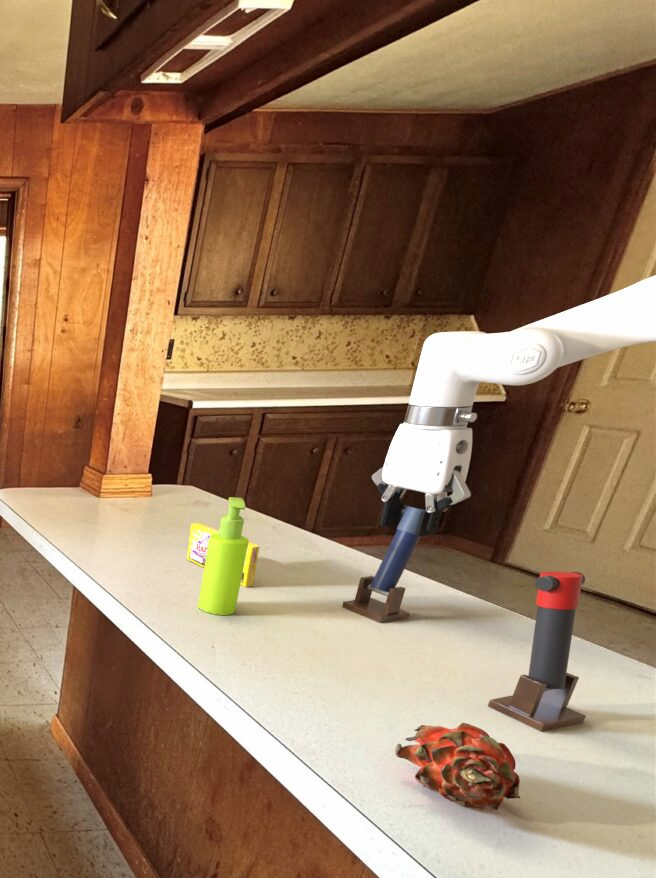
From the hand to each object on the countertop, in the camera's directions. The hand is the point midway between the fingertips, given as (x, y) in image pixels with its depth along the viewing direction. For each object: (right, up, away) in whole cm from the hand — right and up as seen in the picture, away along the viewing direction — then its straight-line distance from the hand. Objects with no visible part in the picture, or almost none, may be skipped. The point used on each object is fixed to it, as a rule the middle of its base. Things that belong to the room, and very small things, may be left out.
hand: (406, 528), depth 108 cm
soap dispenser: (-27, -14, +8) cm, 31 cm away
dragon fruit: (-26, -32, -37) cm, 55 cm away
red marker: (-5, -15, -25) cm, 30 cm away
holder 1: (-1, -14, +5) cm, 15 cm away
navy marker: (+2, -4, +2) cm, 5 cm away
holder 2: (-4, -26, -24) cm, 35 cm away
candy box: (-18, -7, +25) cm, 31 cm away
